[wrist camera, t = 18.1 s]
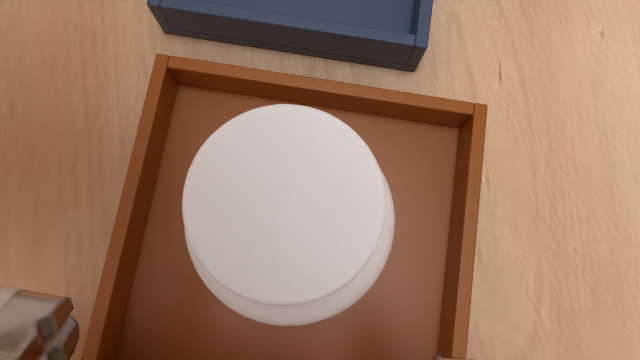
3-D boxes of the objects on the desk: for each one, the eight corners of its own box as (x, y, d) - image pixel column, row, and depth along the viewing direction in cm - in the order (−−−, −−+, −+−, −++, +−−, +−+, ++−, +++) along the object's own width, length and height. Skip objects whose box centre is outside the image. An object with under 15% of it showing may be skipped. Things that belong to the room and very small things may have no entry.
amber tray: (104, 369, 20) (74, 384, 18) (172, 76, 23) (156, 52, 20) (439, 423, 20) (459, 445, 18) (467, 122, 23) (487, 104, 20)
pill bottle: (373, 296, 20) (445, 326, 10) (237, 316, 20) (155, 369, 9) (352, 164, 22) (396, 59, 11) (224, 181, 21) (137, 90, 11)
